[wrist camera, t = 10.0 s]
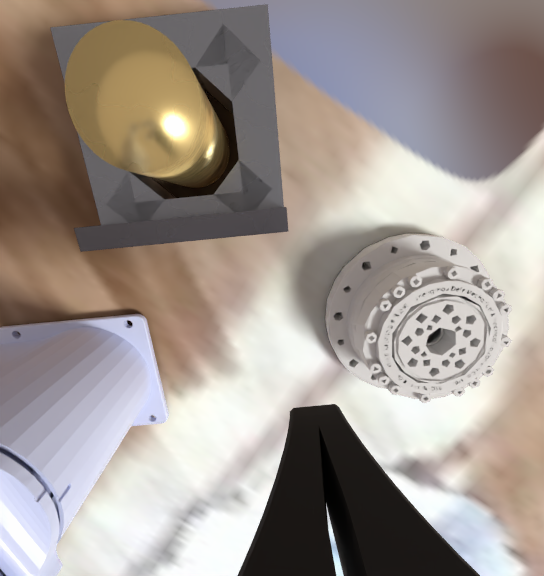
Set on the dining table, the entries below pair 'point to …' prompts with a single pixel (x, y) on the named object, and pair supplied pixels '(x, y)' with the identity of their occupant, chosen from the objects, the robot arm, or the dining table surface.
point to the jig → (249, 133)
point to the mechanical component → (417, 317)
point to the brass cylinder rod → (144, 106)
